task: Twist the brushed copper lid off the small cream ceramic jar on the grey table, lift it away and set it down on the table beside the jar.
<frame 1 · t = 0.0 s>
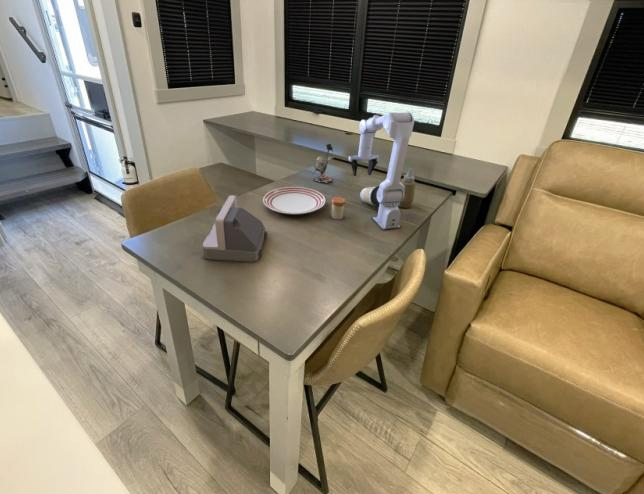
hand: (361, 174, 156), 10 cm above the table, tool pointing down, fingers open, 7 cm apart
jar: (337, 216, 140), on the table
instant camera: (237, 245, 116), on the table
squeeze bottle: (403, 205, 153), on the table
lid: (338, 200, 136), point 7 cm above the table, screwed on, not yet turned
coffee cup: (366, 195, 153), point 3 cm above the table
plant with pod: (321, 180, 174), on the table
dinner plate: (294, 205, 146), on the table
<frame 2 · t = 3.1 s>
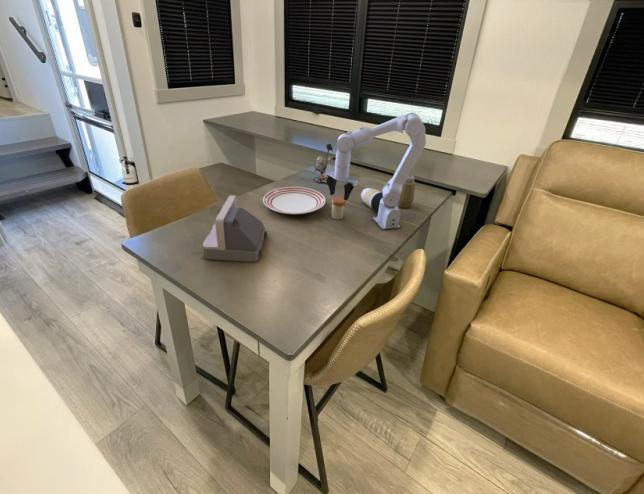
hand: (339, 197, 135), 9 cm above the table, tool pointing down, fingers open, 6 cm apart
coffee cup: (367, 194, 152), point 4 cm above the table, touching arm
everything else where it was.
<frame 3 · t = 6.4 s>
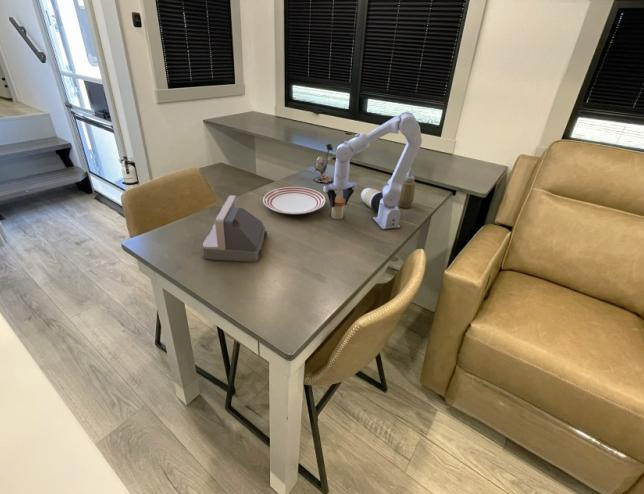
hand: (338, 205, 137), 5 cm above the table, tool pointing down, fingers closed on lid, 5 cm apart
lid: (338, 200, 136), point 7 cm above the table, screwed on, not yet turned, touching gripper
everything else where it was.
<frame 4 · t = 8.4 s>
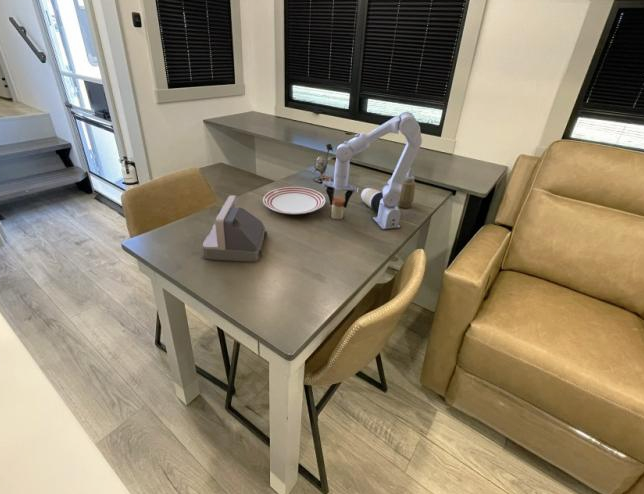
hand: (338, 205, 137), 5 cm above the table, tool pointing down, fingers closed on lid, 5 cm apart
lid: (338, 200, 136), point 8 cm above the table, off its thread, touching gripper
everything else where it was.
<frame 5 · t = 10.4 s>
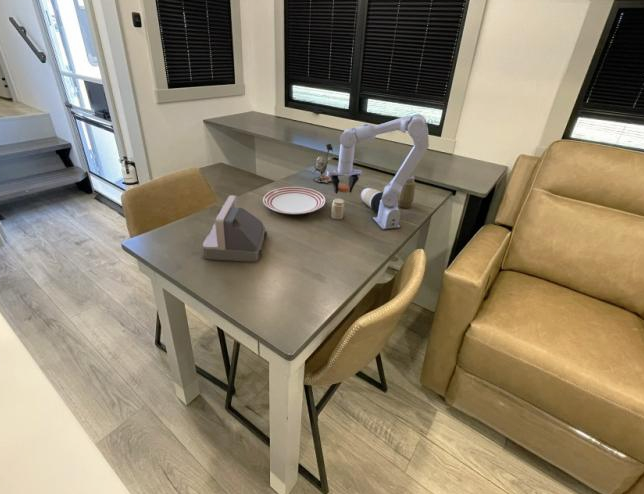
hand: (342, 192, 137), 10 cm above the table, tool pointing down, fingers closed on lid, 5 cm apart
lid: (343, 186, 136), point 13 cm above the table, off its thread, touching gripper
everything else where it was.
when the fingers open (0 cm above the table, at t = 14.8 s): lid stays where it is, point 1 cm above the table.
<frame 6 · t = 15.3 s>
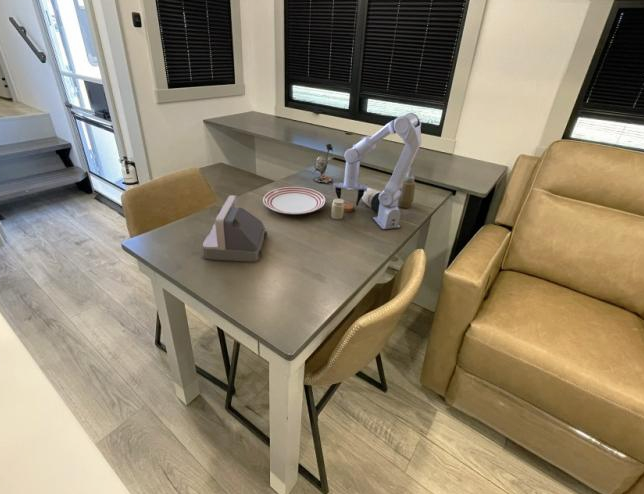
hand: (348, 204, 145), 2 cm above the table, tool pointing down, fingers open, 7 cm apart
lid: (346, 206, 146), point 1 cm above the table, off its thread
everything else where it was.
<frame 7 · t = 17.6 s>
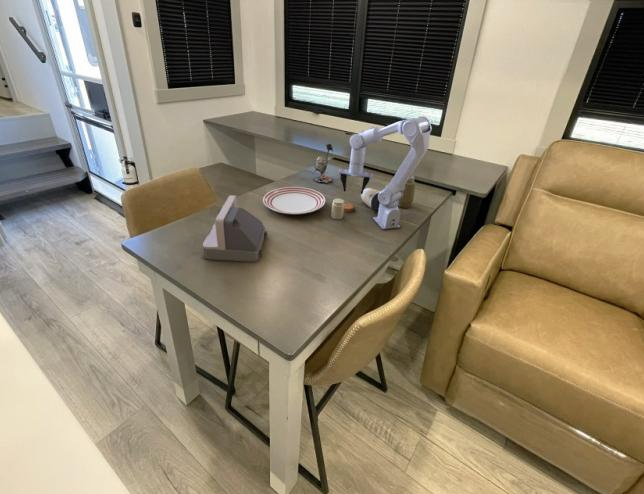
hand: (353, 191, 144), 8 cm above the table, tool pointing down, fingers open, 7 cm apart
nothing on the table moved.
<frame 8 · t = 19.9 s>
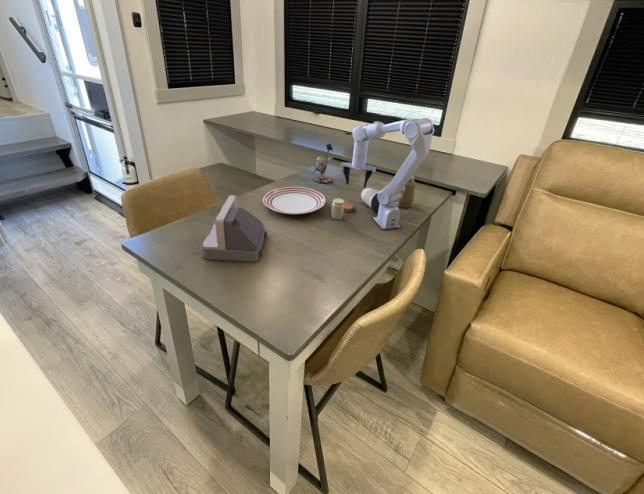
hand: (356, 185, 144), 10 cm above the table, tool pointing down, fingers open, 7 cm apart
nothing on the table moved.
at the end: lid inside the target area (0.1 cm from its centre), point 1.3 cm above the table; the gripper is holding nothing; jar tilted 0° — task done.
